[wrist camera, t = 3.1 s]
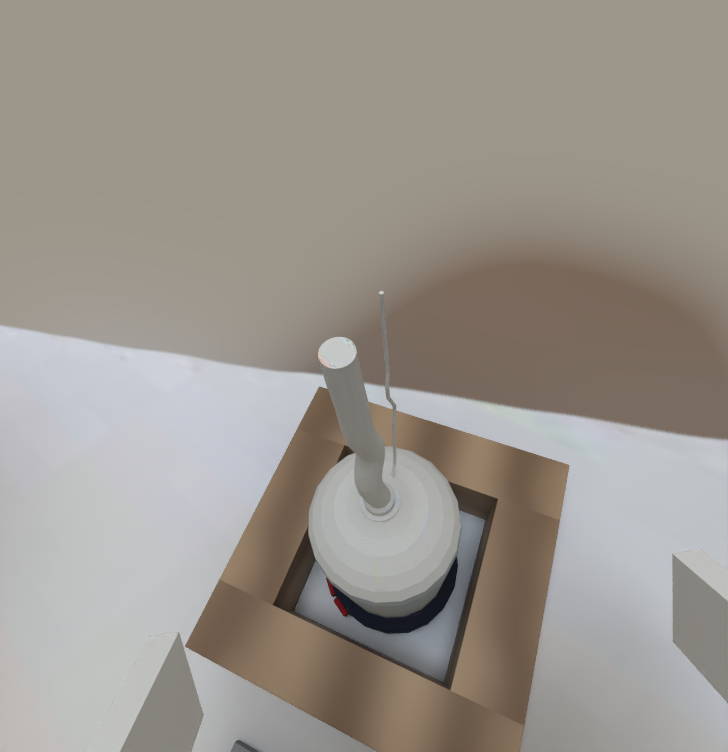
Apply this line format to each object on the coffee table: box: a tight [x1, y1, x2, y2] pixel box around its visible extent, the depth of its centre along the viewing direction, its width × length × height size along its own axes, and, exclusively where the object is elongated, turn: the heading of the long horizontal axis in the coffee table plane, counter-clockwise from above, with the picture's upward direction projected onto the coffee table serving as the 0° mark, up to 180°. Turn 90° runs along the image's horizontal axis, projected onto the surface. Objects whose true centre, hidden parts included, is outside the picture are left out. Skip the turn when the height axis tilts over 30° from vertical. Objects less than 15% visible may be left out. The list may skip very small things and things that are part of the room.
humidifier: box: [308, 291, 461, 634], centre depth 19 cm, size 8×8×25 cm
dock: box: [185, 387, 569, 752], centre depth 27 cm, size 17×17×5 cm
